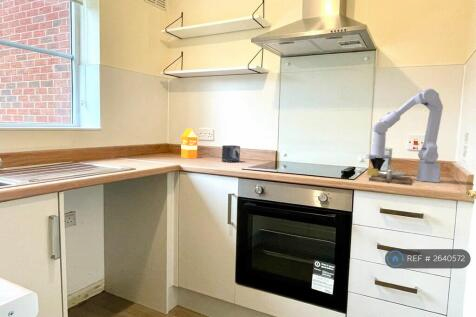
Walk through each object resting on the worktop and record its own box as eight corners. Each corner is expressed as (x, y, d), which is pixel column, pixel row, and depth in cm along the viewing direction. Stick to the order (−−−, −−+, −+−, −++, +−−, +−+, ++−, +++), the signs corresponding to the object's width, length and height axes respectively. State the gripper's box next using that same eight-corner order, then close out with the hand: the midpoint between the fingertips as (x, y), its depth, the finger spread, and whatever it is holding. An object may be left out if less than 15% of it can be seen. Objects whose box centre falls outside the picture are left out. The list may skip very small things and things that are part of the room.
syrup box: (379, 172, 182) (381, 147, 180) (390, 173, 178) (392, 147, 177) (376, 173, 177) (378, 147, 176) (387, 174, 174) (389, 148, 172)
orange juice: (190, 156, 232) (191, 128, 230) (197, 157, 225) (197, 129, 223) (180, 157, 227) (181, 128, 225) (187, 158, 220) (187, 129, 218)
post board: (410, 179, 161) (411, 168, 160) (409, 185, 143) (410, 173, 143) (373, 175, 169) (374, 165, 168) (368, 180, 152) (369, 169, 151)
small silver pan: (404, 176, 158) (405, 169, 158) (403, 180, 148) (404, 172, 148) (369, 173, 166) (369, 166, 166) (365, 176, 156) (366, 168, 155)
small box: (227, 162, 204) (228, 146, 203) (221, 161, 209) (221, 145, 208) (240, 161, 211) (240, 145, 210) (233, 160, 216) (234, 145, 215)
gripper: (382, 145, 169) (380, 171, 170) (361, 145, 163) (359, 172, 164) (394, 146, 162) (391, 173, 164) (373, 146, 156) (370, 174, 158)
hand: (376, 172), depth 164 cm, fingers closed
